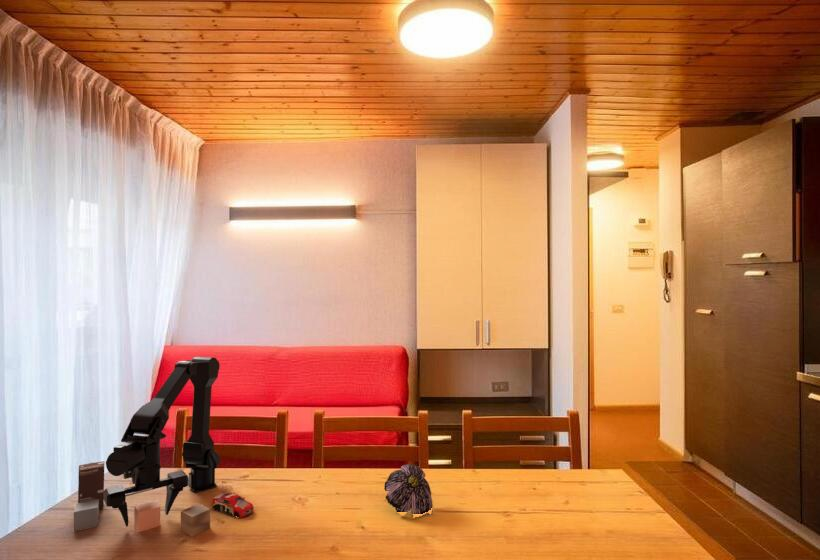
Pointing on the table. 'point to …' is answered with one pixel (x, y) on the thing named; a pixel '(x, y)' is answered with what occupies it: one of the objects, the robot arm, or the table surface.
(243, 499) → the race car
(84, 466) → the box
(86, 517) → the gray block
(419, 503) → the decorative flower
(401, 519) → the table surface
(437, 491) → the table surface
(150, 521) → the terracotta block
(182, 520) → the metal block
